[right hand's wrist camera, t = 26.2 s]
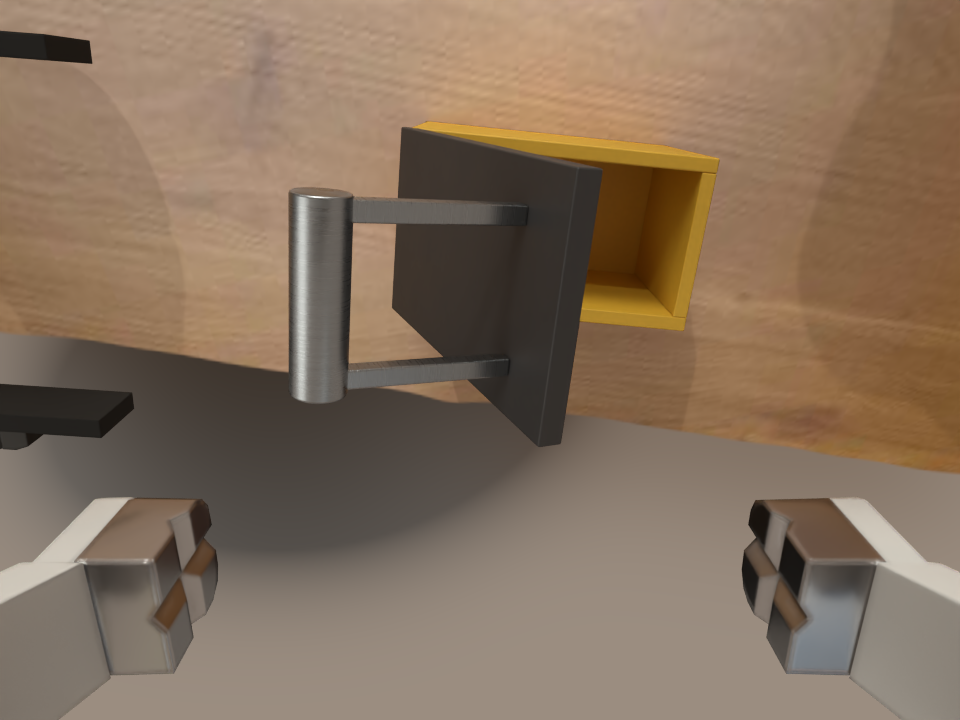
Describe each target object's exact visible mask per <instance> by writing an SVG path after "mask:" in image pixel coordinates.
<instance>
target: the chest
mask: <svg viewBox="0 0 960 720" xmlns="http://www.w3.org/2000/svg"><path fill="white" fill-rule="evenodd" d="M413 128H419V129H424V130H428V131H433V132H438V133H442V134H447V135H451V136H456V137H460V138H465V139H470V140H474V141H479V142H483V143H488V144H492V145H497V146H502V147H506V148H511V149H515V150H520V151H524V152H529V153H534V154H538V155H543V156H547V157H552V158H556V159H561V160H566V161H570V162H575V163H579V164H584V165H588V166H593V167H598V168H601V169H603V174H602V180H601V187H600V193H599V200H598V206H597V213H596V219H595V225H594V232H593V238H592V245H591V251H590V258H589V264H588V271H587V277H586V284H585V290H584V297H583V303H582V310H581V316H580V322H591V323H602V324H613V325H623V326H634V327H645V328H656V329H667V330H678V331H684V327H685V322H686V317H687V312H688V308H689V303H690V298H691V293H692V289H693V284H694V279H695V275H696V270H697V265H698V260H699V256H700V251H701V246H702V241H703V237H704V232H705V227H706V223H707V218H708V213H709V208H710V204H711V199H712V194H713V189H714V185H715V180H716V174H715V173H717V170H718V165H719V159H718V158H715V157H711V156H706V155H702V154H698V153H693V152H689V151H685V150H681V149H676V148H672V147H669V146H664V145H654V144H644V143H635V142H625V141H615V140H605V139H595V138H586V137H576V136H566V135H556V134H546V133H537V132H527V131H517V130H507V129H497V128H487V127H478V126H468V125H458V124H448V123H438V122H429V121H426V122H425V123H423V124H420V125H418V126H415V127H413Z"/></svg>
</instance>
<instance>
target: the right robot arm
mask: <svg viewBox="0 0 960 720" xmlns="http://www.w3.org/2000/svg"><path fill="white" fill-rule="evenodd" d="M211 525H212V524H211V519H210V514H209V509H208V505H207V504H206V503H205V502H204V501H203V500H202V499H177V498H132V497H115V498H100V499H95V500H94V501H93V502H92V503H91V504H90V505H89V506H88V507H87V508H86V509H85V510H84V511H83V512H82V513H81V514H80V515H79V516H78V517H77V518H76V519H75V520H74V521H73V522H72V523H71V524H70V525H69V526H68V527H67V528H66V529H65V530H64V531H63V532H62V533H61V534H60V535H59V536H58V537H57V538H56V539H55V540H54V541H53V542H52V543H51V544H50V545H49V546H48V547H47V548H46V549H45V550H44V551H43V552H42V553H41V554H40V555H39V556H38V557H37V558H36V559H35V560H34V561H33V562H31V563H19V564H17V565H15V566H12V567H10V568H8V569H6V570H4V571H1V572H0V720H59V719H60V718H61V717H63V716H64V715H65V714H66V713H68V712H69V711H70V710H72V709H73V708H74V707H75V706H77V705H78V704H79V703H80V702H82V701H83V700H84V699H85V698H87V697H88V696H89V695H90V694H92V693H93V692H94V691H95V690H97V689H98V688H99V687H101V686H102V685H103V684H104V683H106V682H107V681H108V680H109V679H110V675H139V674H173V673H174V672H175V670H176V669H177V667H178V665H179V663H180V661H181V659H182V658H183V656H184V654H185V652H186V650H187V648H188V647H189V645H190V643H191V641H192V639H193V632H192V626H191V624H192V623H194V622H195V621H197V620H198V619H200V618H201V617H203V616H204V615H206V613H207V611H208V609H209V607H210V605H211V603H212V601H213V598H214V594H215V590H216V585H217V581H218V562H217V555H216V550H215V549H214V548H213V547H212V546H211V545H210V544H209V543H208V542H207V541H206V540H205V539H204V536H205V534H206V533H207V531H208V530H209V528H210V527H211ZM748 525H749V526H750V528H751V530H752V531H753V533H754V535H755V536H756V539H755V540H754V541H753V542H752V543H751V544H750V545H749V546H748V547H747V548H746V549H745V550H744V556H743V564H742V577H743V587H744V591H745V595H746V598H747V601H748V603H749V605H750V607H751V609H752V611H753V613H754V615H756V616H757V617H759V618H760V619H762V620H763V621H765V622H766V623H768V624H769V626H768V632H767V639H768V641H769V643H770V645H771V647H772V648H773V650H774V652H775V654H776V656H777V658H778V659H779V661H780V663H781V665H782V667H783V669H784V670H785V672H786V673H787V674H821V675H850V677H849V678H850V679H851V680H852V681H854V682H855V683H856V684H857V685H859V686H860V687H861V688H862V689H864V690H865V691H866V692H867V693H869V694H870V695H871V696H872V697H874V698H875V699H876V700H877V701H879V702H880V703H881V704H882V705H884V706H885V707H886V708H887V709H889V710H890V711H891V712H893V713H894V714H895V715H896V716H898V717H899V718H900V719H901V720H960V572H959V571H956V570H954V569H952V568H950V567H948V566H945V565H943V564H941V563H929V562H927V561H926V560H925V559H924V558H923V557H922V556H921V555H920V554H919V553H918V552H917V551H916V550H915V549H914V548H913V547H912V546H911V545H910V544H909V543H908V542H907V541H906V540H905V539H904V538H903V537H902V536H901V535H900V534H899V533H898V532H897V531H896V530H895V529H894V528H893V527H892V526H891V525H890V524H889V523H888V522H887V521H886V520H885V519H884V518H883V517H882V516H881V515H880V514H879V513H878V512H877V511H876V510H875V508H874V507H873V506H872V505H871V504H870V503H869V502H868V501H867V500H864V499H862V498H859V497H843V498H819V499H778V500H755V502H754V504H753V506H752V509H751V512H750V518H749V524H748Z"/></svg>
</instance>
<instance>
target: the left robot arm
mask: <svg viewBox="0 0 960 720" xmlns="http://www.w3.org/2000/svg"><path fill="white" fill-rule="evenodd" d="M0 57H10V58H23V59H36V60H50V61H63V62H76V63H89V64H92V57H91V49H90V41H88V40H81V39H74V38H67V37H60V36H53V35H45V34H34V33H21V32H8V31H0ZM133 409H134V404H133V396H132V393H130V392H115V391H100V390H85V389H70V388H55V387H39V386H24V385H9V384H0V449H2V448H3V449H10V450H18V449H21V448H24V447H27V446H29V445H30V444H32V443H33V442H34V441H36V440H37V439H38V438H40V437H41V436H42V435H43V434H49V435H64V436H79V437H95V438H102V437H103V436H104V435H105V434H106V433H107V432H108V431H110V430H111V429H112V428H113V427H114V426H115V425H116V424H117V423H118V422H120V421H121V420H122V419H123V418H124V417H125V416H126V415H127V414H128V413H130V412H131V411H132V410H133Z"/></svg>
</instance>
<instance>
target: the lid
mask: <svg viewBox="0 0 960 720" xmlns="http://www.w3.org/2000/svg"><path fill="white" fill-rule="evenodd" d="M602 174H603V169H601V168H598V167H593V166H588V165H584V164H579V163H575V162H570V161H566V160H561V159H556V158H552V157H547V156H543V155H538V154H534V153H529V152H524V151H520V150H515V149H511V148H506V147H502V146H497V145H492V144H488V143H483V142H479V141H474V140H470V139H465V138H460V137H456V136H451V135H447V134H442V133H438V132H433V131H428V130H424V129H419V128H409V127H402V130H401V149H400V168H399V187H398V198H377V197H353V194H351V193H349V192H346V191H342V190H337V189H329V188H314V187H303V188H294V189H291V190H289V393H290V395H291V396H292V397H293V398H294V399H296V400H298V401H302V402H305V403H313V404H324V403H331V402H335V401H338V400H341V399H342V398H344V397H345V396H346V394H347V392H348V389H359V388H372V387H384V386H395V385H407V384H419V383H431V382H443V381H455V380H466V379H467V380H468V381H469V382H470V383H472V384H473V385H474V386H475V387H476V388H477V389H478V390H479V391H480V392H481V393H482V394H483V395H484V396H485V397H486V398H487V399H488V400H489V401H490V402H492V403H493V404H494V405H495V406H496V407H497V408H498V409H499V410H500V411H501V412H502V413H503V414H504V415H505V416H506V417H507V418H508V419H509V420H511V422H513V423H514V424H515V425H516V426H517V427H518V428H519V429H520V430H521V431H522V432H523V433H524V434H525V435H526V436H527V437H528V438H529V439H530V440H531V441H533V442H534V443H535V444H536V445H537V446H538V447H543V446H550V445H557V444H560V443H561V439H562V432H563V426H564V420H565V413H566V407H567V400H568V394H569V387H570V381H571V374H572V368H573V361H574V355H575V348H576V342H577V335H578V329H579V322H580V316H581V310H582V303H583V297H584V290H585V284H586V277H587V271H588V264H589V258H590V251H591V245H592V238H593V232H594V225H595V219H596V213H597V206H598V200H599V193H600V187H601V180H602ZM353 223H381V224H396V243H395V261H394V280H393V299H392V308H393V309H394V310H395V311H396V312H397V313H398V314H399V315H400V316H401V317H402V318H403V319H404V320H405V321H406V322H407V323H408V324H410V325H411V326H412V327H413V328H414V329H415V330H416V331H417V332H418V333H419V334H420V335H421V336H422V337H423V338H424V339H425V340H426V341H427V342H428V343H430V344H431V345H432V346H433V347H434V348H435V349H436V350H437V351H438V352H439V353H440V354H441V355H442V356H443V357H439V358H424V359H410V360H395V361H381V362H366V363H351V364H349V332H350V300H351V268H352V236H353Z"/></svg>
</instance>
